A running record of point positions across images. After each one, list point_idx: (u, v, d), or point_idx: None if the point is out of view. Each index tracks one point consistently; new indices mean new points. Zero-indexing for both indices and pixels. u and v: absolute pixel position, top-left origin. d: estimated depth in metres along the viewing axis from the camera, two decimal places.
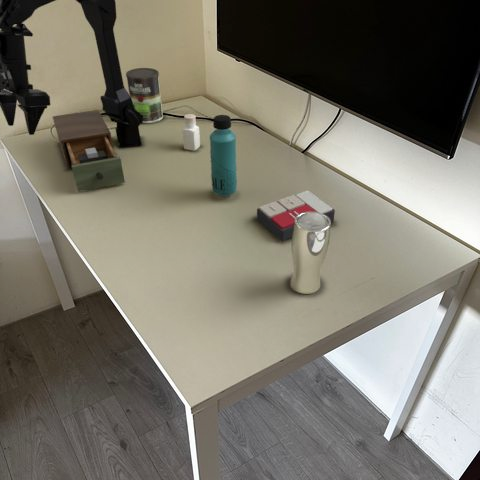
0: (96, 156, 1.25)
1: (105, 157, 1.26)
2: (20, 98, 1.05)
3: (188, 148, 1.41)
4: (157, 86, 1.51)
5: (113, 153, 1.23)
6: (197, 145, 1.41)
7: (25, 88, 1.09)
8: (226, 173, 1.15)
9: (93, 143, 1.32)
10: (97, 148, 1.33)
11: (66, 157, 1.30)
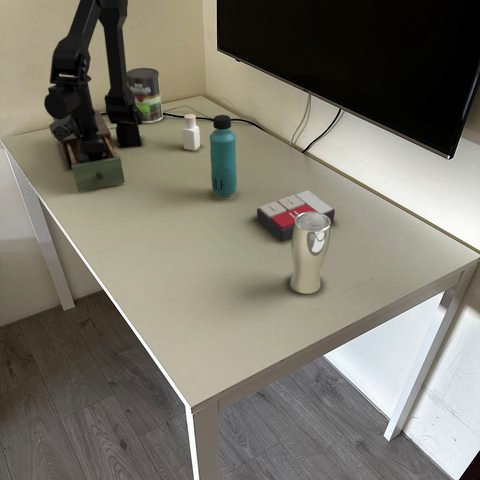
0: None
1: (105, 157, 1.26)
2: (78, 145, 1.16)
3: (188, 148, 1.41)
4: (157, 86, 1.51)
5: (113, 153, 1.23)
6: (197, 145, 1.41)
7: (90, 132, 1.19)
8: (226, 173, 1.15)
9: None
10: None
11: (66, 157, 1.30)
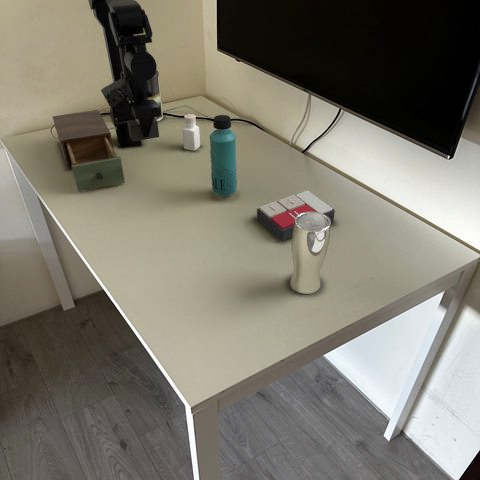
0: None
1: (156, 123, 1.19)
2: (133, 111, 1.10)
3: (188, 148, 1.41)
4: (157, 86, 1.51)
5: (113, 153, 1.23)
6: (197, 145, 1.41)
7: (144, 97, 1.13)
8: (226, 173, 1.15)
9: (93, 143, 1.32)
10: (97, 148, 1.33)
11: (66, 157, 1.30)
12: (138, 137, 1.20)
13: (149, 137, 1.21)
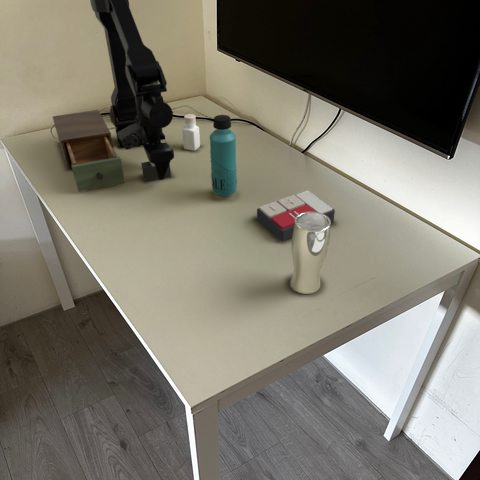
0: None
1: None
2: (147, 154, 1.17)
3: (188, 148, 1.41)
4: None
5: (113, 153, 1.23)
6: (197, 145, 1.41)
7: (157, 140, 1.20)
8: (226, 173, 1.15)
9: (93, 143, 1.32)
10: (97, 148, 1.33)
11: (66, 157, 1.30)
12: (151, 178, 1.27)
13: None
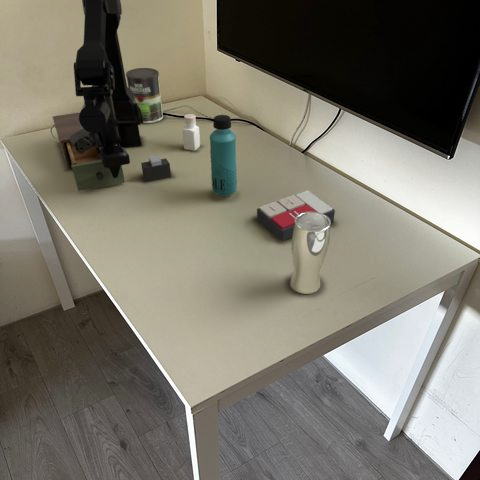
0: (160, 164, 1.26)
1: (168, 165, 1.27)
2: (101, 159, 1.10)
3: (188, 148, 1.41)
4: (157, 86, 1.51)
5: None
6: (197, 145, 1.41)
7: (113, 143, 1.13)
8: (226, 173, 1.15)
9: None
10: None
11: (66, 157, 1.30)
12: (151, 178, 1.27)
13: (161, 177, 1.28)
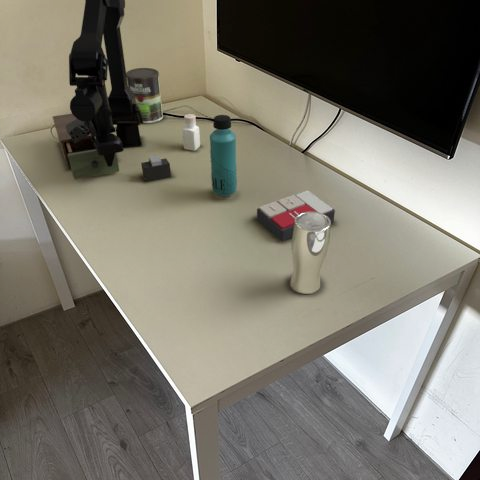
0: (160, 164, 1.26)
1: (168, 165, 1.27)
2: (96, 147, 1.14)
3: (188, 148, 1.41)
4: (157, 86, 1.51)
5: None
6: (197, 145, 1.41)
7: (107, 132, 1.18)
8: (226, 173, 1.15)
9: None
10: None
11: (66, 157, 1.30)
12: (151, 178, 1.27)
13: (161, 177, 1.28)
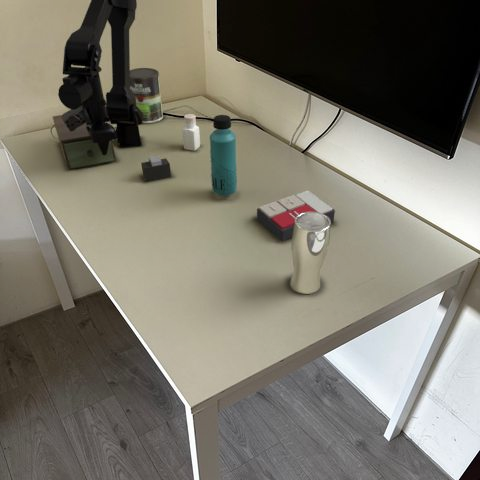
0: (160, 164, 1.26)
1: (168, 165, 1.27)
2: (90, 135, 1.19)
3: (188, 148, 1.41)
4: (157, 86, 1.51)
5: None
6: (197, 145, 1.41)
7: (101, 121, 1.22)
8: (226, 173, 1.15)
9: None
10: None
11: (66, 157, 1.30)
12: (151, 178, 1.27)
13: (161, 177, 1.28)
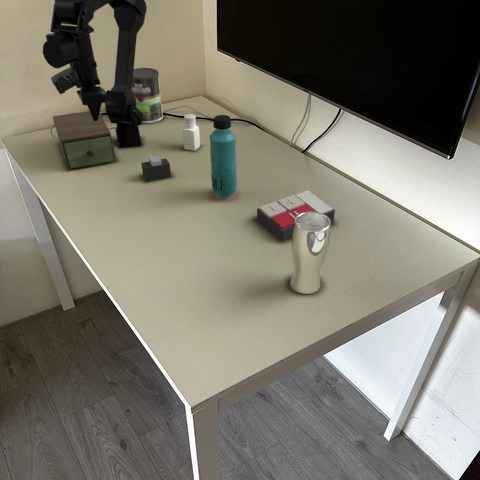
0: (160, 164, 1.26)
1: (168, 165, 1.27)
2: (80, 97, 1.16)
3: (188, 148, 1.41)
4: (157, 86, 1.51)
5: None
6: (197, 145, 1.41)
7: (92, 84, 1.19)
8: (226, 173, 1.15)
9: None
10: None
11: (66, 157, 1.30)
12: (151, 178, 1.27)
13: (161, 177, 1.28)
